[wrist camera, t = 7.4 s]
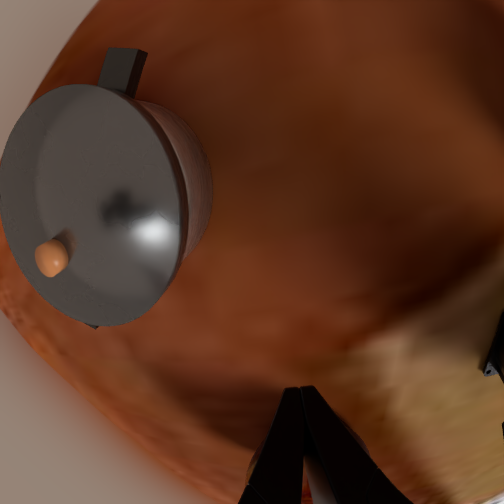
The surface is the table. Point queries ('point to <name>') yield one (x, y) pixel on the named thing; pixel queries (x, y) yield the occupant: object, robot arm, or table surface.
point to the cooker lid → (94, 203)
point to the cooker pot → (179, 133)
